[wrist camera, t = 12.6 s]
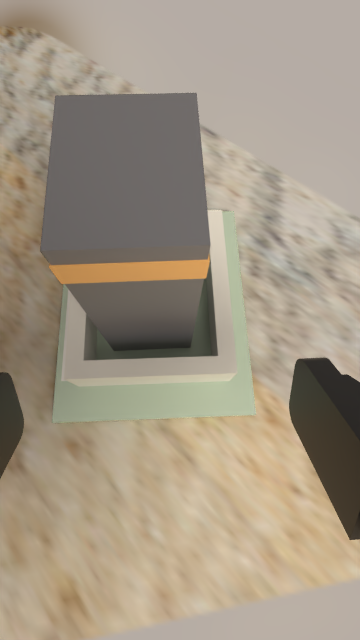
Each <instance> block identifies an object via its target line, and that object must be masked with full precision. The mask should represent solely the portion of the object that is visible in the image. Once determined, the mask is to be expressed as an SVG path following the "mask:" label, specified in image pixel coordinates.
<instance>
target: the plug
mask: <svg viewBox="0 0 360 640" xmlns="http://www.w3.org/2000/svg"><path fill="white" fill-rule="evenodd" d="M210 246H211V244H210V233H209V222H208V211H207V201H206V190H205V179H204V168H203V158H202V147H201V136H200V125H199V115H198V104H197V94H196V93H171V94H170V93H169V94H118V95H66V96H55V105H54V116H53V126H52V136H51V146H50V157H49V167H48V177H47V187H46V198H45V208H44V218H43V228H42V238H41V249H40V251H41V253H42V254H43V255H44V257H45V258H46V259H47V261H48V262H49V268H50V270H51V271H52V272H53V273H54V275H55V276H56V277H57V279H58V280H59V281H60V283H61V284H65V285H66V287H67V288H68V289H69V291H70V292H71V293H72V295H73V296H74V297H75V299H76V300H77V302H78V303H79V304H80V306H81V307H82V308H83V310H84V311H85V312H86V314H87V315H88V316H89V318H90V319H91V321H92V322H93V323H94V325H95V326H96V327H97V329H98V330H99V331H100V333H101V334H102V336H103V337H104V338H105V340H106V341H107V342H108V344H109V345H110V346H111V348H112V349H113V350H114V351H126V350H148V349H170V348H190V347H191V342H192V337H193V332H194V327H195V322H196V317H197V312H198V307H199V301H200V296H201V291H202V286H203V281H204V279H205V278H206V277H207V272H208V268H209V263H210V258H209V251H210Z"/></svg>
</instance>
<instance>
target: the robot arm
mask: <svg viewBox="0 0 360 640" xmlns="http://www.w3.org/2000/svg"><path fill="white" fill-rule="evenodd" d="M289 410H290V416H291V420H292V423H293V426H294V428H295V430H296V432H297V434H298V436H299V438H300V440H301V442H302V444H303V446H304V448H305V450H306V452H307V454H308V456H309V458H310V460H311V462H312V464H313V466H314V468H315V470H316V472H317V474H318V476H319V478H320V480H321V482H322V484H323V486H324V488H325V490H326V492H327V494H328V496H329V498H330V500H331V502H332V504H333V506H334V508H335V511H336V513H337V515H338V517H339V519H340V521H341V523H342V525H343V527H344V529H345V531H346V533H347V535H348V537H349V539H350V540H355V539H360V382H359V381H357V380H355V379H354V378H352V377H351V376H349V375H341V373H340V372H339V371H338V370H337V369H336V367H335V366H334V365H333V364H332V363H331V361H330V360H329V359H327V358H306V359H298V360H297V361H296V364H295V369H294V375H293V382H292V388H291V395H290V402H289ZM23 427H24V419H23V414H22V410H21V407H20V404H19V400H18V397H17V394H16V391H15V387H14V384H13V381H12V378H11V376H10V375H9V374H8V373H6V372H2V373H0V478H1V476H2V474H3V472H4V470H5V468H6V466H7V464H8V462H9V460H10V459H11V457H12V455H13V453H14V451H15V449H16V447H17V445H18V443H19V441H20V439H21V436H22V433H23Z"/></svg>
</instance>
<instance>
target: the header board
mask: <svg viewBox="0 0 360 640" xmlns="http://www.w3.org/2000/svg"><path fill="white" fill-rule="evenodd" d="M207 211H208V222H209V233H210V244H211V246H210V251H209V258H210V263H209V268H208V272H207V277H206V278H205V279H204V281H203V286H202V291H201V296H200V301H199V307H198V312H197V317H196V322H195V327H194V332H193V337H192V342H191V347H190V348H170V349H148V350H126V351H114V350H113V349H112V348H111V346H110V345H109V344H108V342H107V341H106V340H105V338H104V337H103V336H102V334H101V333H100V331H99V330H98V329H97V327H96V326H95V325H94V323H93V322H92V321H91V319H90V318H89V316H88V315H87V314H86V312H85V311H84V310H83V308H82V307H81V306H80V304H79V303H78V302H77V300H76V299H75V297H74V296H73V295H72V293H71V292H70V291H69V289H68V288H67V287H66V285H65V284H63V295H62V307H61V319H60V331H59V343H58V355H57V368H56V380H55V392H54V404H53V416H52V423H74V422H99V421H124V420H150V419H175V418H200V417H225V416H250V415H256V410H255V400H254V391H253V382H252V373H251V364H250V355H249V346H248V336H247V327H246V318H245V309H244V300H243V291H242V281H241V272H240V263H239V254H238V245H237V236H236V226H235V217H234V211H226V212H222V210H207Z"/></svg>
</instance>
